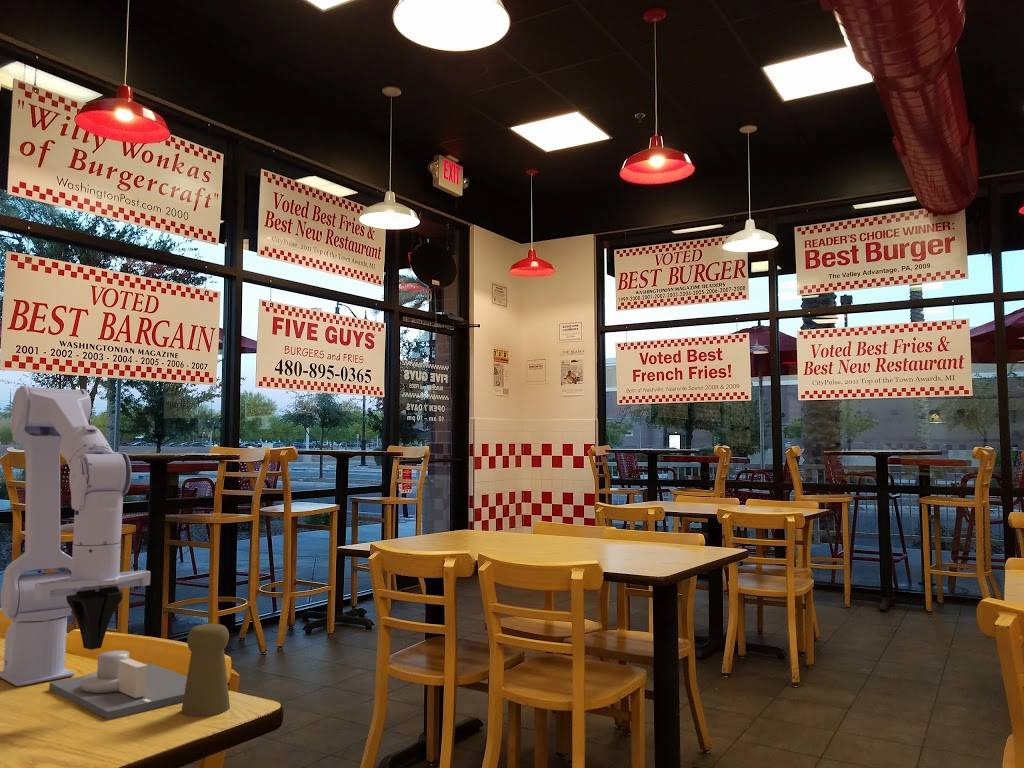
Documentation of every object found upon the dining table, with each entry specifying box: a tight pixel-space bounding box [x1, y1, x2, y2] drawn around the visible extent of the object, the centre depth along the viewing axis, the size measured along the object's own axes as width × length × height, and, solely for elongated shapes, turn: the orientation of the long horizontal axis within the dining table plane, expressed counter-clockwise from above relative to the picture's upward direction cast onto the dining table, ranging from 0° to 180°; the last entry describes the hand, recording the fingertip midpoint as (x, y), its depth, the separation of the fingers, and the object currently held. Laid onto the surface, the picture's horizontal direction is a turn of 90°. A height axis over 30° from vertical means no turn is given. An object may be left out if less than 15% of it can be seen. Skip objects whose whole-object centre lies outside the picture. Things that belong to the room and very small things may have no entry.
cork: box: [180, 623, 231, 718], centre depth 106 cm, size 6×6×11 cm
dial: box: [80, 650, 148, 698], centre depth 111 cm, size 13×8×4 cm, turn 49°
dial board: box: [48, 662, 187, 721], centre depth 113 cm, size 20×14×1 cm
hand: (92, 647), depth 105 cm, fingers closed
